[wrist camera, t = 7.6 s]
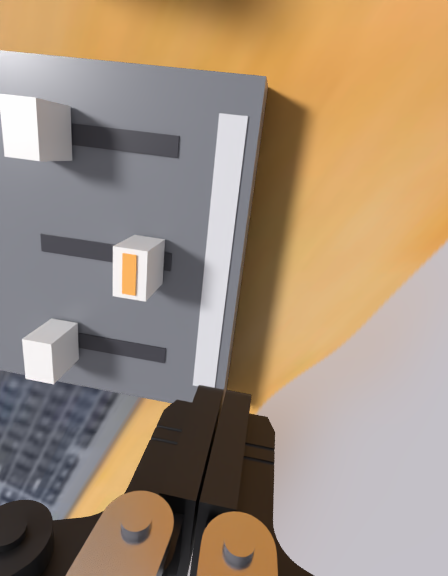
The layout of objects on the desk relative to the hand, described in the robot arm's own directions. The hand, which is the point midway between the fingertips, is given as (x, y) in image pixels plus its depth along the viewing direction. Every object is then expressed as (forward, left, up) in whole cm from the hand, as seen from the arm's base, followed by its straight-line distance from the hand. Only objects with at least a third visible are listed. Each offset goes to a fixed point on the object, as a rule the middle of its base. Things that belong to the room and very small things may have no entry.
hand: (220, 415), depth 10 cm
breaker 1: (+13, -7, -13) cm, 20 cm away
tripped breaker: (+7, 0, -13) cm, 15 cm away
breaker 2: (+13, +7, -13) cm, 20 cm away
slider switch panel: (+10, 0, -17) cm, 19 cm away
